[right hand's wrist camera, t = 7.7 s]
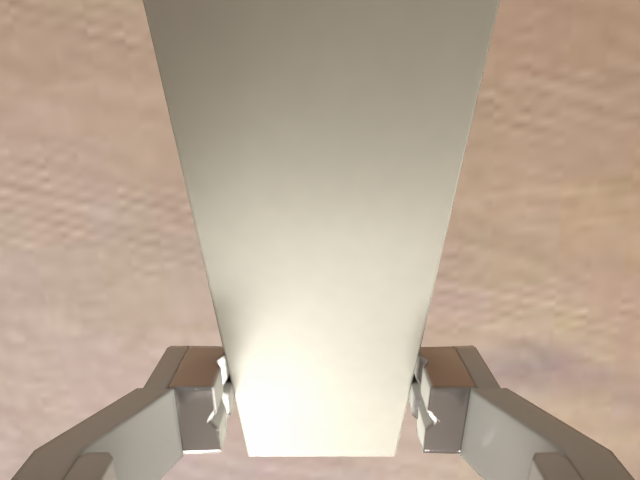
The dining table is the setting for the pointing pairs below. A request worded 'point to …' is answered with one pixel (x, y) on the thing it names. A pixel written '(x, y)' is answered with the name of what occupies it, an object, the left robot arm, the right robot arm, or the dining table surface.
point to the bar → (321, 196)
